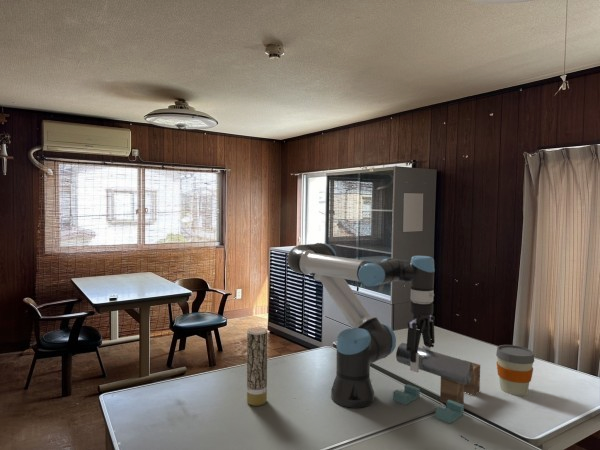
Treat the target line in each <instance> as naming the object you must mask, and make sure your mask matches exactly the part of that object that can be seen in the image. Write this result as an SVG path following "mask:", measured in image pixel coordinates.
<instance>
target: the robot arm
mask: <svg viewBox="0 0 600 450" xmlns="http://www.w3.org/2000/svg"><path fill="white" fill-rule="evenodd" d="M287 264H288V267H289V268H290V269H291V270H292V271H293V272H295V273H297V274H303V275H311V276H312V278H314V280H315V281H320V282H321V284H322V285H323V286H322V287H324V289H325V290H326V291H327V294H328V295H329V296H330V298H331V299H332V301H333V302H334V304H335V305H336V307H337V308H338V309H339V311H340V313H341V314H342V315H343V317H344V318H345V320H346V321H347V323H348V324H349V326H350V327H351V328H346V329H343V330H342V331H340V332H339V333H338V335H337V338H336V340H337V341H336V372H335V373H336V374H335V378H334V381H333V384H332V387H331V388H330V389H331V391H330V398H331V400H332V402H334V403H335V404H336V405H338V406H341V407H346V408H350V409H351V408H352V409H360V408H365V407H369V406H370V405H372V404H373V403H374V401H375V391H374V389H373V384H372V381H371V377H370V375H371V373H370V371H371V364H373V363H375V362H377V361H379V360H382V359H385V358H388V356H390V355H391V354H392V353H393V352H394V351H395V349H396V345H397V338H396V337H397V336H396V334H395V332H394V330H393V328H391V327H390V326H389V325H388V324H385V323H381V322H380V320H379V319H378V318H377V316H374V315H373V316H372V315H370V313H369V312H368V310H367V309H366V308H365V306H364V305H363V303H362V302H361V300H360V299H359V298H358V296H357V295H356V294H355V292H354V290H353V289H352V288H351V287H350V285H349V284H348V282H347V281H346V280H349V281H354V282H357V283H361V284H362V285H363V286H365V287H377V286H380V285H384V284H389V283H393V282H403V283H405V282H406V283H410V298H409V299H410V302H409V303H410V305H409V306H410V312H411V314H412V316H413V317H412V320H411V321H408V322H407V338H406V344H407V347H406V350H407V351H409V352H410V366H409V367H410V368H409V370H410V371H412V372H414V373H419V370H420V369H419V353H418V352H417V351H418V347H419V345H420V341H421V336H422V340H423V345H422V347H421V348H423V349H426V350H430V351H432V348H434V347H435V319H436V318H435V316H434V315H433V314H434V303H433V302H434V297H435V293H434V291H435V288H434V285H435V284H434V283H435V259H434V258H433V257H432V256H429V255H428V256H427V255H413V256H412V257H411V259H410V260H404V259H397V258H392V257H391V258H383V259H382V260H381V261H369V260H364V259H356V258H350V257H349V258H348V257H343V256H337V253H336V249H334V247H332V246H331V245H330V244H328V243H325V242H324V243H322V242H316V243H310V244H309V243H308V244H298V245H296V246H294V247H292V249H290V251H289V252H288V254H287ZM419 348H420V347H419Z"/></svg>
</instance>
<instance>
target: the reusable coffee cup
mask: <svg viewBox="0 0 600 450" xmlns="http://www.w3.org/2000/svg"><path fill="white" fill-rule="evenodd" d="M495 355H496V358H497V361H496V369H497V375H498V377H499V387H500V390H501V391H503V392H504V393H506V394H510V395H513V396H518V397H520V396H521V397H522V396H526V395H528V392H529V387H530V382H531V381H532V378H533V373H534V367H533V366H534V363H535V352H534V351H533V350H532V349H529V348H527V347H524V346H520V345H514V344H513V345H512V344H501V345H498V346H497V347H496V354H495Z"/></svg>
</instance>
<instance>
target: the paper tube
mask: <svg viewBox="0 0 600 450" xmlns="http://www.w3.org/2000/svg"><path fill="white" fill-rule="evenodd" d="M246 333H247V334H246V335H247V336H246V338H247V339H246V341H247V343H246V344H247V345H246V346H247V348H246V402H247V403H248V405H250V406H253V407H255V406H256V407H258V406H259V407H260V406H263V405H264V404H266V402H267V398H268V397H267V395H268V329H267V328H265V327H261V326H258V327H257V326H256V327H250V328H248V329H247V332H246Z"/></svg>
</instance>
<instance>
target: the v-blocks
mask: <svg viewBox="0 0 600 450" xmlns="http://www.w3.org/2000/svg"><path fill="white" fill-rule="evenodd" d="M420 395H421V388H419V387H416V386H413V385H411V384H405V385H404V391H400V390H398V389H395V390H394V391H393V392H392V396H393V398H392V400H393V401H395V402H398V403H400V404H402V405H404V406H406V405H408V404H410V403H413V401H416V400H417V399H419V398H420V397H421V396H420ZM464 409H465V406H464V404H460V403H457V402H454V401H452V400H448V401H446V403H445V407H441V406H437V407H436V408H435V419H438V420H440V421H443V422H445V423H448V424H452V423H453V422H454V421H456V420H458V419H459V418H460V417H461V416H463V415H464V413H465V412H464ZM462 414H463V415H462Z"/></svg>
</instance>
